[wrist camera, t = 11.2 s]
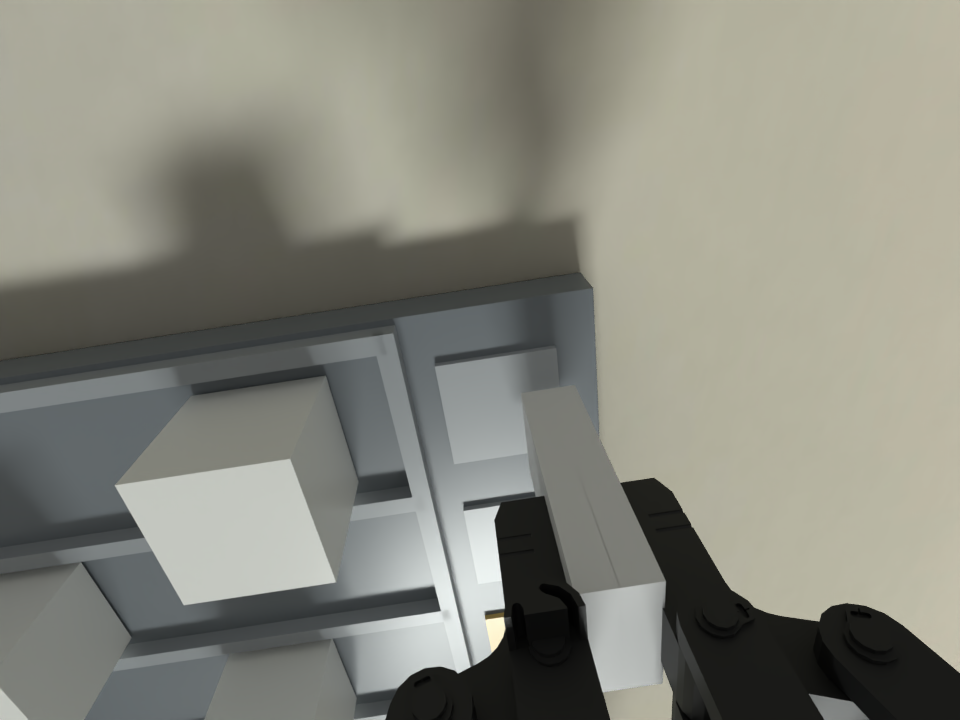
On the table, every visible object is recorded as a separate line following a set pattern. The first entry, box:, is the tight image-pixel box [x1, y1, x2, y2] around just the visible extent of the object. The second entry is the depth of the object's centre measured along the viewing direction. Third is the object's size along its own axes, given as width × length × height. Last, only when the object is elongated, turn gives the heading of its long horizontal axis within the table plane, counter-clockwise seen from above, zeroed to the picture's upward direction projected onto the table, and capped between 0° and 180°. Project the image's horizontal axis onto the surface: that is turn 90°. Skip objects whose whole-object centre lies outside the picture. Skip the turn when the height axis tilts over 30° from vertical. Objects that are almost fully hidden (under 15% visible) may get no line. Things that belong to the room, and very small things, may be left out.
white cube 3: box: [115, 376, 358, 605], centre depth 14 cm, size 4×4×4 cm
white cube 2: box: [0, 562, 131, 720], centre depth 17 cm, size 4×4×4 cm
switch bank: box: [0, 273, 599, 720], centre depth 19 cm, size 30×18×2 cm, turn 98°
